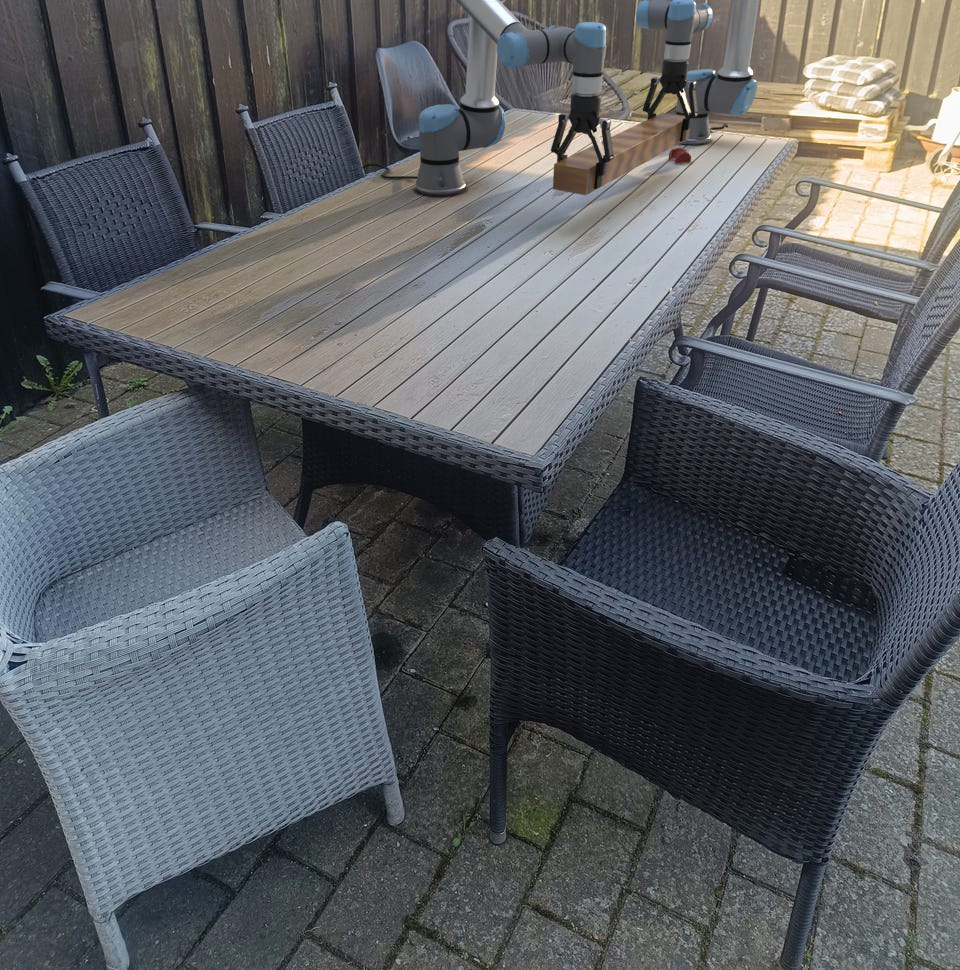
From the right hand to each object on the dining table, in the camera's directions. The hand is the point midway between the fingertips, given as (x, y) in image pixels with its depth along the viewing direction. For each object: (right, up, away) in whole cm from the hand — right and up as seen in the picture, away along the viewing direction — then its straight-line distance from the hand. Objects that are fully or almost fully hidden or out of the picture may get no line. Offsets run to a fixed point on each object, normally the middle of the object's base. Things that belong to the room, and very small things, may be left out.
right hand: (666, 138), depth 263 cm
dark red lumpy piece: (+9, +1, +22) cm, 24 cm away
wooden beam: (-16, -15, -20) cm, 29 cm away
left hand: (-32, -29, -40) cm, 59 cm away
